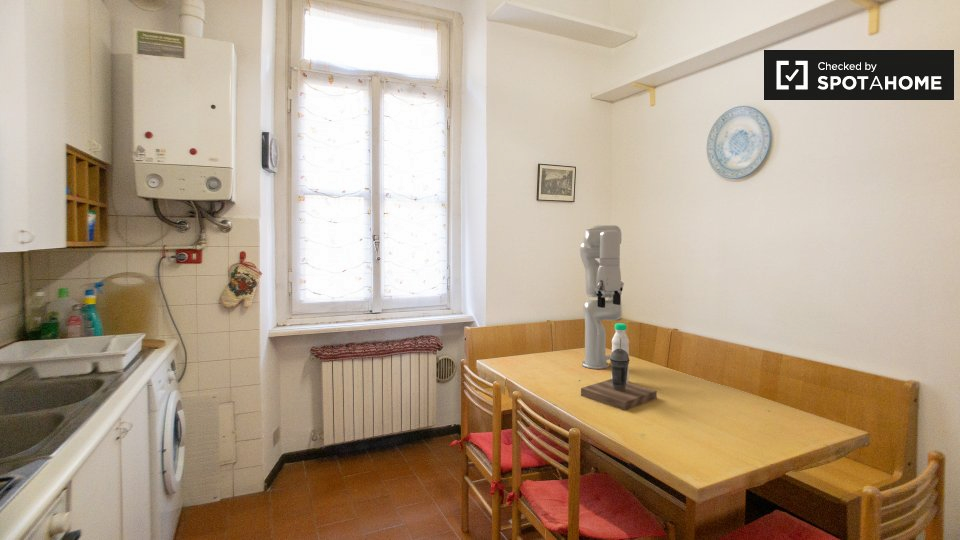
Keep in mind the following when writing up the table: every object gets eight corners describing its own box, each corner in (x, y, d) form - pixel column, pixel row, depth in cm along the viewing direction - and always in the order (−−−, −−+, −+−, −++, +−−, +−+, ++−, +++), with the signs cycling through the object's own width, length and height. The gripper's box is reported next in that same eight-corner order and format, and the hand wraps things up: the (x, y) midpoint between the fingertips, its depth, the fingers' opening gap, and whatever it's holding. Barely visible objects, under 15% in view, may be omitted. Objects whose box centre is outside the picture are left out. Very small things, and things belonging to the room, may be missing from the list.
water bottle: (610, 383, 195) (611, 324, 193) (612, 378, 201) (612, 322, 200) (628, 385, 192) (628, 326, 190) (629, 380, 199) (630, 323, 197)
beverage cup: (626, 385, 182) (627, 335, 181) (631, 392, 175) (632, 339, 173) (607, 385, 183) (608, 335, 181) (611, 391, 175) (612, 339, 174)
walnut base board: (613, 385, 192) (613, 378, 192) (656, 398, 176) (656, 390, 176) (581, 395, 180) (581, 388, 180) (624, 410, 164) (624, 402, 164)
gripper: (615, 260, 188) (614, 302, 190) (587, 263, 178) (587, 307, 179) (631, 261, 182) (630, 304, 184) (603, 264, 172) (603, 309, 173)
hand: (609, 305), depth 182 cm, fingers open, 9 cm apart
